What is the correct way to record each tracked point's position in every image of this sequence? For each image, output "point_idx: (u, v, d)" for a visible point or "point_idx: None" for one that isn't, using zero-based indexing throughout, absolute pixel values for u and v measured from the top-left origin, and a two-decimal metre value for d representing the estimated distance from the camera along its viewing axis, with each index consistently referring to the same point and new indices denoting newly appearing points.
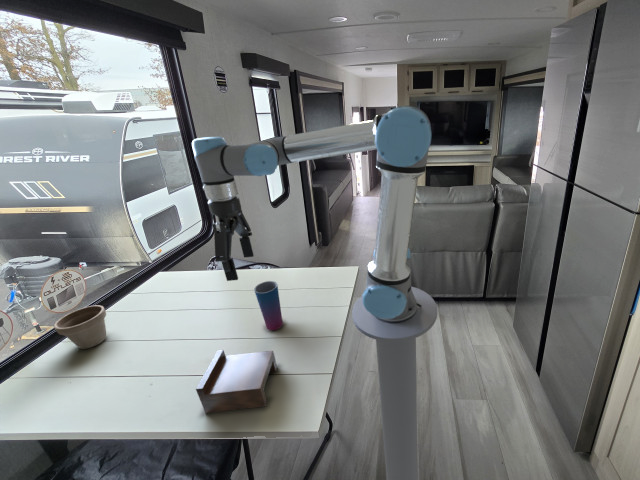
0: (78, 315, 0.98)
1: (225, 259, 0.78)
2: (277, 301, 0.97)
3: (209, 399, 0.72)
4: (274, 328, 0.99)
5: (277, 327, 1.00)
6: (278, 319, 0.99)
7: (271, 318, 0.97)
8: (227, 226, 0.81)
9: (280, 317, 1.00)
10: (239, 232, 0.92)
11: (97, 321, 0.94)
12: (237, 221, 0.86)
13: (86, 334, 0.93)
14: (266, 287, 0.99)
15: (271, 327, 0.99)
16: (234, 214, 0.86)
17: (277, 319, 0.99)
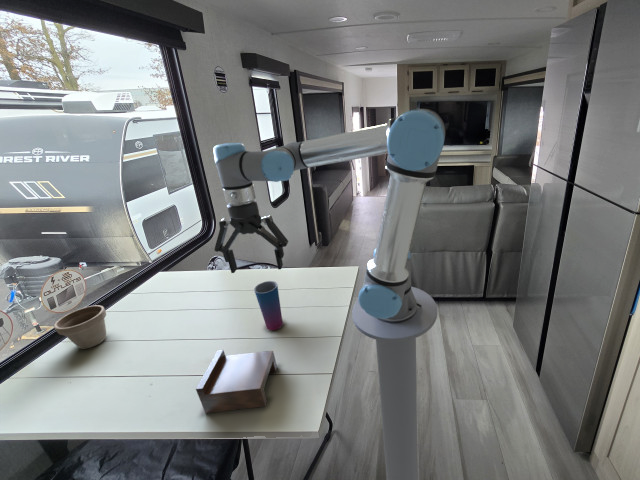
0: (78, 315, 0.98)
1: None
2: (277, 301, 0.97)
3: (209, 399, 0.72)
4: (274, 328, 0.99)
5: (277, 327, 1.00)
6: (278, 319, 0.99)
7: (271, 318, 0.97)
8: None
9: (280, 317, 1.00)
10: (231, 244, 0.89)
11: (97, 321, 0.94)
12: None
13: (86, 334, 0.93)
14: (266, 287, 0.99)
15: (271, 327, 0.99)
16: None
17: (277, 319, 0.99)
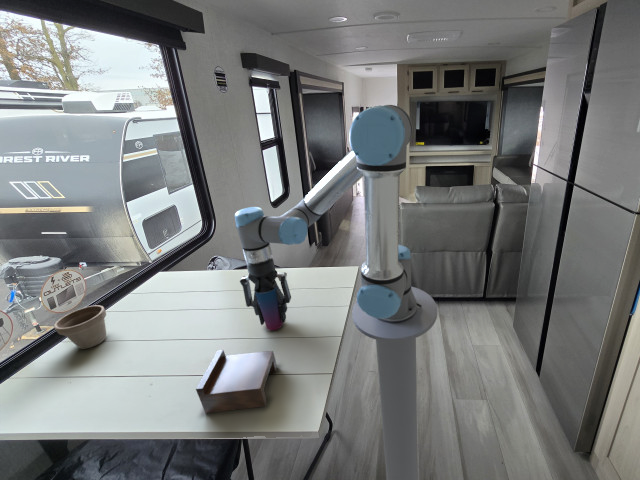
0: (78, 315, 0.98)
1: None
2: (277, 301, 0.97)
3: (209, 399, 0.72)
4: (274, 328, 0.99)
5: (277, 327, 1.00)
6: (278, 319, 0.99)
7: (271, 318, 0.97)
8: None
9: (280, 317, 1.00)
10: None
11: (97, 321, 0.94)
12: None
13: (86, 334, 0.93)
14: (266, 287, 0.99)
15: (271, 327, 0.99)
16: None
17: (277, 319, 0.99)
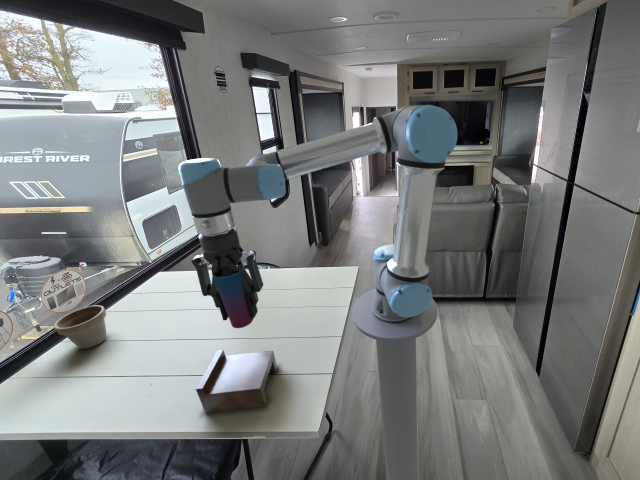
0: (78, 315, 0.98)
1: None
2: (244, 289, 0.73)
3: (209, 399, 0.72)
4: (240, 325, 0.75)
5: (244, 324, 0.75)
6: (246, 313, 0.75)
7: (236, 312, 0.73)
8: None
9: None
10: None
11: (97, 321, 0.94)
12: None
13: (86, 334, 0.93)
14: (230, 271, 0.75)
15: (236, 324, 0.75)
16: None
17: (244, 314, 0.75)
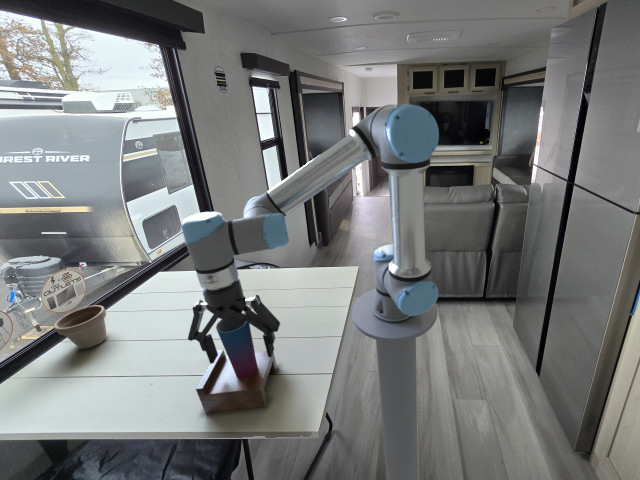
0: (78, 315, 0.98)
1: None
2: (248, 341, 0.73)
3: (209, 399, 0.72)
4: (245, 375, 0.75)
5: (249, 374, 0.75)
6: (250, 363, 0.75)
7: (240, 363, 0.73)
8: None
9: (253, 360, 0.76)
10: (208, 331, 0.71)
11: (97, 321, 0.94)
12: None
13: (86, 334, 0.93)
14: (234, 321, 0.75)
15: (241, 374, 0.74)
16: None
17: (248, 364, 0.74)
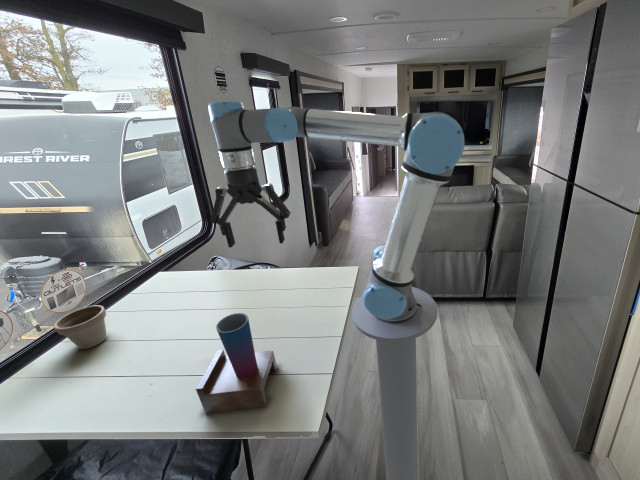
0: (78, 315, 0.98)
1: None
2: (248, 341, 0.73)
3: (209, 399, 0.72)
4: (245, 375, 0.75)
5: (249, 374, 0.75)
6: (250, 364, 0.75)
7: (240, 363, 0.73)
8: None
9: (253, 360, 0.76)
10: (228, 215, 0.82)
11: (97, 321, 0.94)
12: None
13: (86, 334, 0.93)
14: (234, 321, 0.75)
15: (241, 374, 0.74)
16: None
17: (248, 364, 0.74)
